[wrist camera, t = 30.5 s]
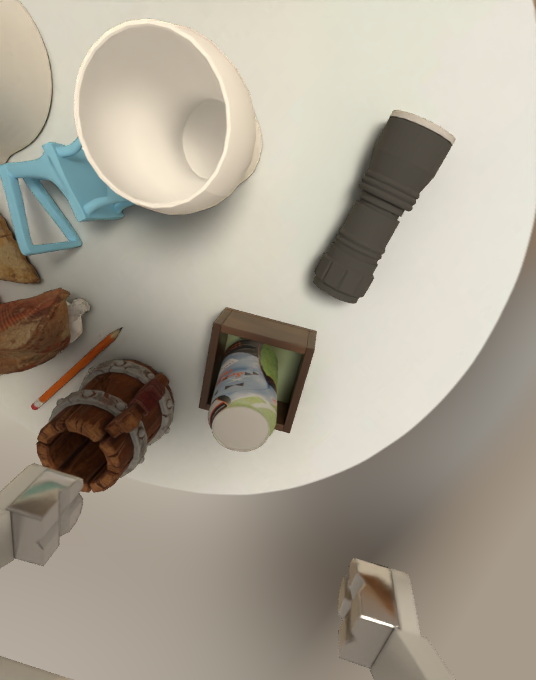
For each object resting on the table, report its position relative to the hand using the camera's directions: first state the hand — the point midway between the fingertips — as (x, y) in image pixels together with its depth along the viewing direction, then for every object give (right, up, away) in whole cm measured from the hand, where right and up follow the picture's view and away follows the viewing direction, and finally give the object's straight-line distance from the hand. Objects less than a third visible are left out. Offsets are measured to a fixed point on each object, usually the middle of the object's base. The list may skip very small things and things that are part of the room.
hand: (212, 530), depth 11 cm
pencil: (-22, +1, +37) cm, 43 cm away
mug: (-14, 0, +37) cm, 39 cm away
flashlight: (+11, +18, +25) cm, 33 cm away
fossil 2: (-24, +1, +28) cm, 37 cm away
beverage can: (0, +3, +32) cm, 32 cm away
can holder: (+1, +3, +33) cm, 33 cm away
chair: (-21, +18, +26) cm, 38 cm away
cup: (-3, +24, +25) cm, 34 cm away
